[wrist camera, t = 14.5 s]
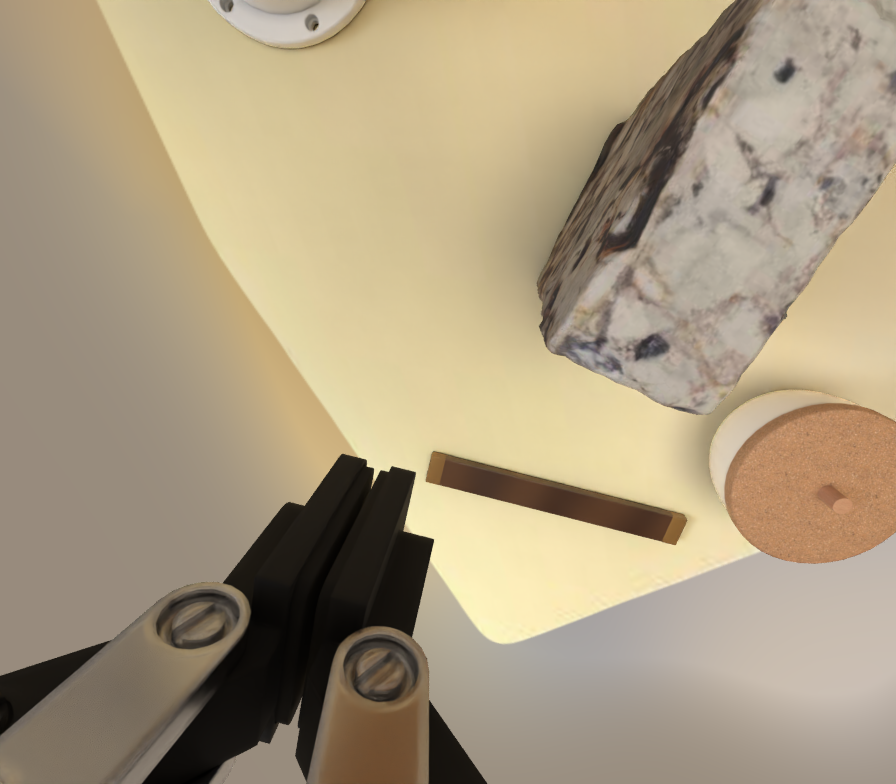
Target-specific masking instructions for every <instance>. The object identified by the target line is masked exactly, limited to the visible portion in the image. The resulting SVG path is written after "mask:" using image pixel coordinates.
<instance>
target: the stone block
mask: <svg viewBox="0 0 896 784" xmlns="http://www.w3.org/2000/svg"><path fill="white" fill-rule="evenodd" d="M664 72H665V71H664ZM895 163H896V0H735V1H734V2H733V3H732V4H731V5H730V6H729V7H728V8H727V9H725V10H724V11H723V13H722V14H721V15H720V17H719V18H718V19H717V21H716V22H715V23H714V24H713V26H712V27H711V28H710V30H709V31H708V32H707V34H706V35H704V36H703V37H701V38H700V39H699V40H698V41H697V42H696V43H695V44H694V45H693V46H692V48H691V49H689V50H687V51H686V52H685V53H684V54H683V55H682V56H680V57H679V59H678V60H677V61H676V62H675V64H674V65H673V66H672V67H671V68H670V69H669V70H668V72H667V73H666V74H665V75H663V76H662V77H661V78H660V80H659V81H658V82H657V83H656V84H655V86H654V87H653V88H651V89H650V90H649V91H648V92H647V94H646V96H645V97H644V98H643V100H642V101H641V102H640V103H639V105H638V107H637V108H636V110H635V111H634V113H633V114H632V115H631V117H630V118H629V119H628V120H626V121H625V122H623V123H620V124H617V126H616V127H615V128H614V129H613V130H612V132H611V133H610V135H609V137H608V139H607V140H606V142H605V144H604V147H603V149H602V151H601V154H600V156H599V158H598V161H597V163H596V165H595V168H594V170H593V172H592V173H591V175H590V177H589V179H588V181H587V183H586V185H585V187H584V188H583V190H582V192H581V194H580V196H579V198H578V200H577V202H576V204H575V206H574V207H573V209H572V211H571V213H570V215H569V217H568V219H567V221H566V224H565V226H564V228H563V230H562V231H561V232H560V234H559V236H558V238H557V241H556V243H555V245H554V248H553V250H552V253H551V255H550V258H549V260H548V263H547V264H546V266H545V267H544V269H543V270H542V272H541V274H540V276H539V278H538V281H537V287H538V294H539V298H540V300H541V301H542V311H541V315H542V317H543V320H542V322H541V324H540V326H539V328H540V330H541V333H542V335H543V337H544V342H545V345H546V347H547V348H548V350H549V351H550V352H551V353H553V354H556V355H561V356H566V357H567V358H568V359H570V360H571V361H573V362H574V363H576V364H578V365H581V366H583V367H585V368H587V369H589V370H591V371H593V372H595V373H598V374H601V375H604V376H605V377H607V378H609V379H611V380H612V381H614V382H616V383H619V384H622V385H624V386H627V387H630V388H632V389H635V390H638V391H639V392H641V393H643V394H644V395H646V396H647V397H649V398H650V399H652V400H653V401H655V402H657V403H659V404H662V405H664V406H667V407H671V408H674V409H676V410H679V411H683V412H688V413H692V414H696V415H708V414H710V413H711V412H712V411H713V410H714V409H715V408H716V407H717V406H718V405H719V404H720V403H721V402H722V401H723V400H724V399H725V398H726V397H727V396H728V395H729V394H730V393H731V391H732V390H733V389H734V388H735V386H736V384H737V382H738V381H739V379H740V377H741V375H742V374H743V373H744V371H745V370H746V369H747V368H748V367H749V365H750V364H751V363H752V362H753V361H754V359H755V358H756V357H757V355H758V354H759V353H760V351H761V350H762V348H763V347H764V345H765V343H766V342H767V340H768V339H769V337H770V336H771V335H772V333H773V332H774V331H775V329H776V328H777V327H778V326H779V324H780V323H781V322H782V321H783V319H786V317H787V313H786V312H787V310H788V308H789V306H790V305H791V304H792V303H793V302H794V301H795V300H796V298H797V297H798V296H799V295H800V293H801V292H802V291H803V290H804V289H805V287H806V286H807V285H808V283H809V282H810V280H811V278H812V276H813V275H814V273H815V271H816V270H817V268H818V266H819V265H820V264H821V262H822V261H823V260H824V258H825V257H826V256H827V254H828V253H829V252H830V250H831V249H832V247H833V246H834V244H835V242H836V241H837V239H838V237H839V236H840V235H841V234H842V233H843V232H844V231H845V230H846V229H847V228H848V227H849V226H850V225H851V224H852V223H853V221H854V220H855V219H856V218H857V216H858V215H859V214H860V212H861V211H862V210H863V208H864V207H865V206H866V205H867V203H868V202H869V201H870V199H871V198H872V197H873V195H874V194H875V193H876V191H877V190H878V188H879V186H880V185H881V183H882V182H883V180H884V179H885V177H886V176H887V175H888V173H889V172H890V170H891V169H892V167H893V166H894V165H895Z"/></svg>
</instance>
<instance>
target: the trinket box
mask: <svg viewBox="0 0 896 784" xmlns="http://www.w3.org/2000/svg"><path fill="white" fill-rule="evenodd" d="M709 470H710V474H711V478H712V482H713V486H714V488H715V490H716V492H717V495H718V497H719V499H720V501H721V503H722V504H723V506H724V507H725V509H726V510H727V512H728V513H729V515H730V517H731V520H732V521H733V523H734V524H735V526H736V527H737V528H738V530H739V531H740V533H741V534H742V535H743V536H744V537H745V538H746V539H747V540H748V541H749V542H750V543H751V544H752V545H753V546H755V547H756V548H758V549H759V550H760V551H762V552H764V553H766V554H768V555H771V556H773V557H776V558H779V559H782V560H786V561H792V562H797V563H813V564H816V563H827V562H833V561H839V560H844V559H847V558H850V557H853V556H856V555H858V554H861V553H863V552H866V551H868V550H870V549H872V548H874V547H875V546H877V545H878V544H880V543H882V542H883V541H885V540H886V539H887V538H889V537H890V536H891V535H893V534H894V533H895V532H896V422H895V421H893V420H892V419H890V418H888V417H886V416H884V415H882V414H880V413H878V412H876V411H873V410H871V409H867V408H864V407H862V406H860V405H858V404H855V403H853V402H851V401H849V400H846V399H843V398H839V397H836V396H833V395H830V394H827V393H822V392H816V391H809V390H783V391H775V392H770V393H767V394H763V395H760V396H758V397H755V398H753V399H751V400H749V401H747V402H745V403H744V404H742V405H740V406H739V407H738V408H736V409H735V410H734V411H732V412H731V413H730V414H729V415H728V416H727V417H726V418H725V420H724V421H723V422H722V424H721V425H720V426H719V428H718V429H717V431H716V433H715V435H714V437H713V440H712V443H711V447H710V453H709Z"/></svg>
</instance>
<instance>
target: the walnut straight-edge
mask: <svg viewBox="0 0 896 784" xmlns="http://www.w3.org/2000/svg"><path fill="white" fill-rule="evenodd" d="M426 482H429V483H433V484H437V485H442V486H446V487H450V488H454V489H457V490H461V491H465V492H469V493H473V494H477V495H481V496H485V497H489V498H493V499H497V500H501V501H505V502H509V503H512V504H516V505H520V506H524V507H528V508H532V509H536V510H540V511H544V512H548V513H552V514H556V515H560V516H564V517H568V518H571V519H575V520H579V521H583V522H587V523H591V524H595V525H599V526H603V527H607V528H611V529H615V530H619V531H623V532H626V533H630V534H634V535H638V536H642V537H646V538H650V539H654V540H658V541H662V542H665V543H669V544H673V545H676V543H677V541H678V539H679V537H680V535H681V533H682V531H683V528H684V526H685V524H686V522H687V519H686V517H685V515H683V514H679V513H675V512H671V511H667V510H663V509H659V508H655V507H651V506H647V505H643V504H639V503H635V502H631V501H627V500H623V499H619V498H615V497H611V496H607V495H603V494H599V493H595V492H591V491H588V490H584V489H580V488H576V487H572V486H568V485H564V484H560V483H556V482H552V481H548V480H544V479H540V478H536V477H532V476H528V475H524V474H520V473H516V472H512V471H508V470H504V469H500V468H496V467H492V466H488V465H484V464H480V463H476V462H473V461H469V460H465V459H461V458H457V457H453V456H449V455H445V454H441V453H437V452H433V453H432V456H431V460H430V464H429V468H428V473H427V477H426Z"/></svg>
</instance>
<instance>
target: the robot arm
mask: <svg viewBox="0 0 896 784" xmlns="http://www.w3.org/2000/svg"><path fill="white" fill-rule="evenodd" d="M365 1H366V0H208V2H209V3H210V4H211V5H212V7H213V8H214V9H215V10H216V12H217V13H218V14H220V15H221V16H222V17H223V18H224V19H225V20H226V21H227V22H229V23H230V24H231V25H232V26H233V27H235V28H236V29H238V30H239V31H240V32H242V33H243V34H245V35H246V36H248V37H250V38H252V39H254V40H257V41H259V42H261V43H263V44H266V45H270V46H274V47H279V48H303V47H307V46H311V45H315V44H318V43H320V42H322V41H324V40H326V39H328V38H330V37H332V36H334V35H335V34H337V33H338V32H339V31H340V30H341V29H343V28H344V27H345V26H346V25H347V24H349V23H350V21H351V20H352V19H353V18H354V17H355V15H356V14H357V13H358V12H359V10H360V9H361V8H362V7H363V5H364V3H365ZM233 5H234V6H233ZM232 6H233V9H232V10H231V8H232ZM315 24H319V25H318V28H317V29H316V30H315V31H314V25H315ZM366 466H367V460H365V459H361V458H357V457H353V456H349V455H345V454H341V456H340V457H339V458H338V460H337V461H336V462H335V464H334V465H333V467H332V468H331V469H330V471H329V472H328V474H327V475H326V477H325V478H324V479H323V481H322V482H321V484H320V485H319V487H318V488H317V489H316V491H315V492H314V493H313V495H312V496H311V498H310V499H309V501H308V502H307V503H306V505H305V506H303V505H299V504H295V503H291V502H288V503H286V504H285V505H284V506H283V507H282V508H281V509H280V511H279V512H278V513H277V515H276V516H275V517H274V518H273V519H272V521H271V522H270V524H269V525H268V526H267V527H266V528H265V530H264V531H263V532H262V534H261V535H260V536H259V537H258V539H257V540H256V541H255V543H254V544H253V545H252V546H251V548H250V549H249V550H248V551H247V553H246V554H245V555H244V557H243V558H242V559H241V560H240V562H239V563H238V564H237V566H236V567H235V568H234V570H233V571H232V572H231V573H230V574H229V576H228V577H227V578H226V580H225V581H224V582H223V583H219V582H201V583H195V584H190V585H186V586H184V587H181V588H179V589H176V590H174V591H172V592H170V593H169V594H167V595H166V596H165V597H163V598H161V599H160V600H158V602H156V603H155V604H154V605H153V606H151V607H150V608H149V609H148V610H147V611H146V612H144V613H143V614H142V615H141V616H140V617H139V618H137V619H136V620H135V621H134V622H133V623H132V624H130V625H129V626H128V627H127V628H126V629H125V630H123V631H122V632H121V633H120V634H119V635H117V636H116V637H115V638H114V639H113V640H110V641H107V642H104V643H101V644H98V645H95V646H92V647H88V648H85V649H82V650H79V651H76V652H73V653H70V654H67V655H64V656H61V657H57V658H54V659H51V660H48V661H45V662H42V663H39V664H36V665H33V666H29V667H26V668H23V669H20V670H17V671H14V672H11V673H8V674H5V675H2V676H0V784H223V783H224V781H225V780H226V778H227V777H228V775H229V773H230V771H231V769H232V767H233V765H234V763H235V760H236V756H237V755H239V754H241V753H243V752H245V751H247V750H249V749H251V748H252V747H254V746H256V745H257V744H258V742H259V741H261V742H265V743H270V742H271V740H272V738H273V735H274V733H275V731H276V729H277V727H278V724H279V723H282V724H286V725H289V724H290V723H291V721H292V719H293V717H294V714H295V712H296V710H297V707H298V705H299V703H300V700H301V698H302V701H301V708H300V714H299V721H298V728H300V730H299V736H298V742H297V749H296V755H295V756H296V759H297V761H298V763H299V766H300V768H301V770H302V773H303V775H304V777H305V779H306V782H307V783H306V784H487V782H486V781H485V780H484V778H483V777H482V775H481V774H480V773H479V771H478V770H477V768H476V767H475V765H474V764H473V762H472V761H471V760H470V758H469V757H468V755H467V754H466V752H465V751H464V749H463V748H462V747H461V745H460V744H459V742H458V741H457V739H456V738H455V736H454V735H453V734H452V732H451V731H450V729H449V728H448V726H447V725H446V723H445V722H444V721H443V719H442V718H441V716H440V715H439V713H438V712H437V711H436V709H435V708H434V706H433V705H432V703H431V702H430V700H429V668H428V662H427V658H426V656H425V654H424V652H423V650H422V648H421V647H420V646H419V645H418V643H416V641H415V640H414V639H412V635H413V631H414V627H415V622H416V618H417V613H418V609H419V605H420V600H421V596H422V591H423V587H424V583H425V578H426V573H427V569H428V565H429V561H430V556H431V552H432V548H433V543H434V539H431V538H427V537H423V536H419V535H416V534H412V533H407V532H404V531H403V530H404V525H405V521H406V516H407V512H408V507H409V503H410V498H411V494H412V489H413V485H414V480H415V475H416V472H413V471H409V470H405V469H401V468H397V467H393V466H392V467H391V469H390V471H389V472H386V471H382V470H381V471H380V473H379V475H378V477H377V479H376V480H375V482H374V484H373V486H372V488H371V485H372V480H373V475H374V468H370V467H366Z"/></svg>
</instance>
